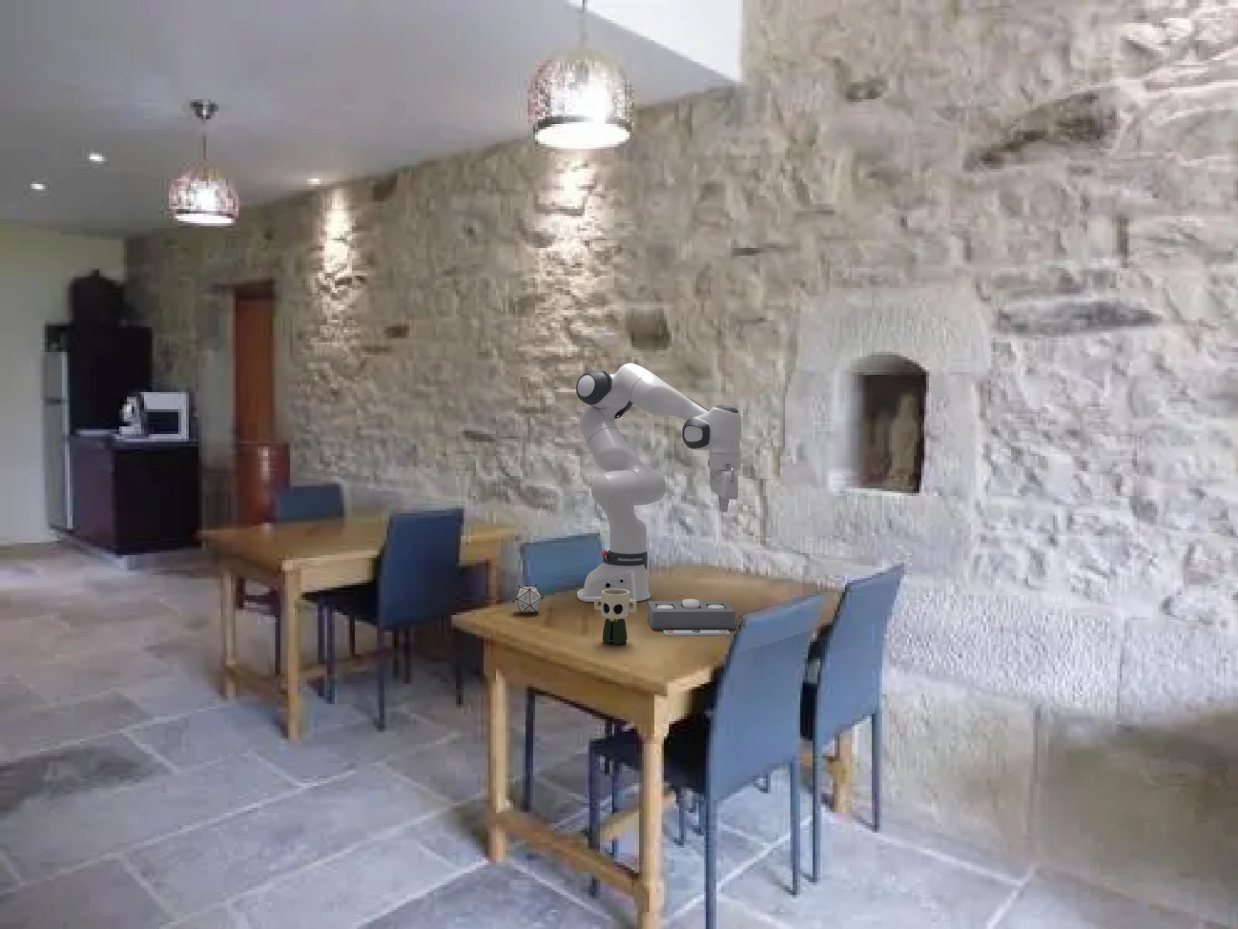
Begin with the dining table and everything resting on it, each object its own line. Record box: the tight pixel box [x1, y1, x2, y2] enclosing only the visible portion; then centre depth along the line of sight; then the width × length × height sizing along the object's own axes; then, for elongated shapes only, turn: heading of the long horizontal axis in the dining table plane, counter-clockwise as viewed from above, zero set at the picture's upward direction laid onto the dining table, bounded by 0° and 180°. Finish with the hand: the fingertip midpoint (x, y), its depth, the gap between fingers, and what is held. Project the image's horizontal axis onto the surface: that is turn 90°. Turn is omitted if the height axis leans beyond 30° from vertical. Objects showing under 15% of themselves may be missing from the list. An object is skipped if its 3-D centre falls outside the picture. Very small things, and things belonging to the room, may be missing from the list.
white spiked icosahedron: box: [511, 584, 545, 615], centre depth 251 cm, size 9×8×10 cm
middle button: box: [682, 598, 700, 609], centre depth 242 cm, size 4×4×3 cm
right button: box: [708, 605, 724, 608], centre depth 243 cm, size 4×4×3 cm
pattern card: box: [662, 630, 731, 637], centre depth 233 cm, size 17×3×1 cm, turn 95°
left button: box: [657, 605, 673, 609], centre depth 242 cm, size 4×4×3 cm
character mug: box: [593, 589, 638, 645], centre depth 223 cm, size 11×7×13 cm, turn 75°
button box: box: [646, 600, 736, 631], centre depth 242 cm, size 22×12×5 cm, turn 95°
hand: (723, 511), depth 254 cm, fingers closed
